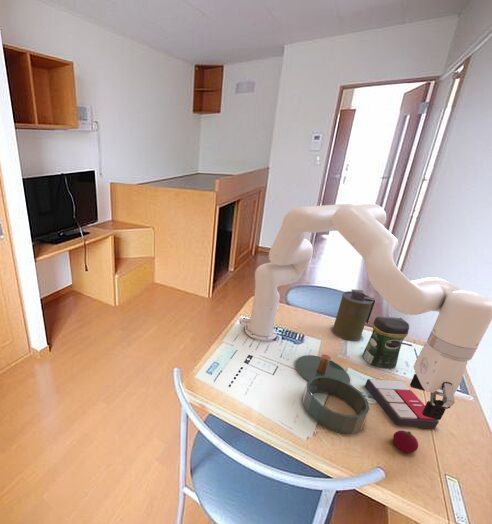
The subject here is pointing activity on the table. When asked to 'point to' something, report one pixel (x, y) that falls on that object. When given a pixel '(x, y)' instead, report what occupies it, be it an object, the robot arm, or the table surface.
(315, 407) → the pot
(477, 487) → the table surface
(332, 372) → the lid
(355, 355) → the table surface
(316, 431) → the table surface
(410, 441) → the beet
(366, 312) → the canister
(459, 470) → the table surface
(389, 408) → the calculator
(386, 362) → the coffee jar
